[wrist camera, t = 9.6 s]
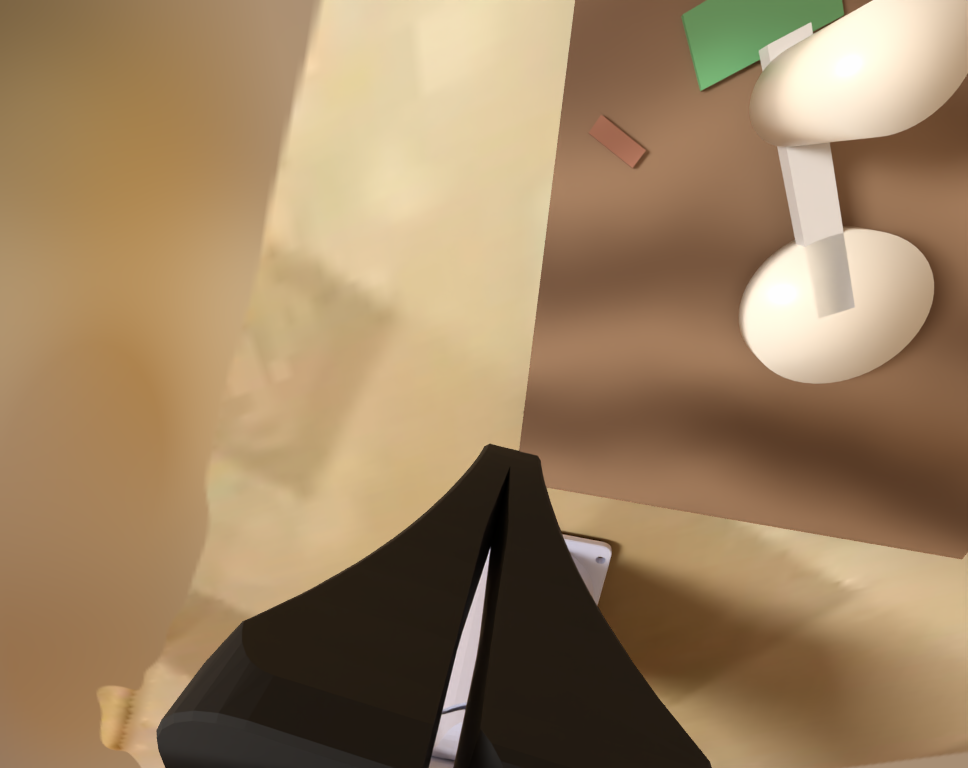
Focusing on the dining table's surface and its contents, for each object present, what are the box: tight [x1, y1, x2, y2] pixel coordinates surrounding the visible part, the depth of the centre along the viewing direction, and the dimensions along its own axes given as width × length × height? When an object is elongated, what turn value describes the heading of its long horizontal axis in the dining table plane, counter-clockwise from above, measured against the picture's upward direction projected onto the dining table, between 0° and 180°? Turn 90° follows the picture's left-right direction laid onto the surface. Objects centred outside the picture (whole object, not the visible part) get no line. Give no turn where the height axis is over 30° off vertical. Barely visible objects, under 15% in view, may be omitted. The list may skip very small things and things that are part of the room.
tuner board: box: [519, 0, 968, 559], centre depth 15 cm, size 20×19×2 cm
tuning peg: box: [739, 0, 968, 384], centre depth 11 cm, size 10×5×5 cm, turn 26°
